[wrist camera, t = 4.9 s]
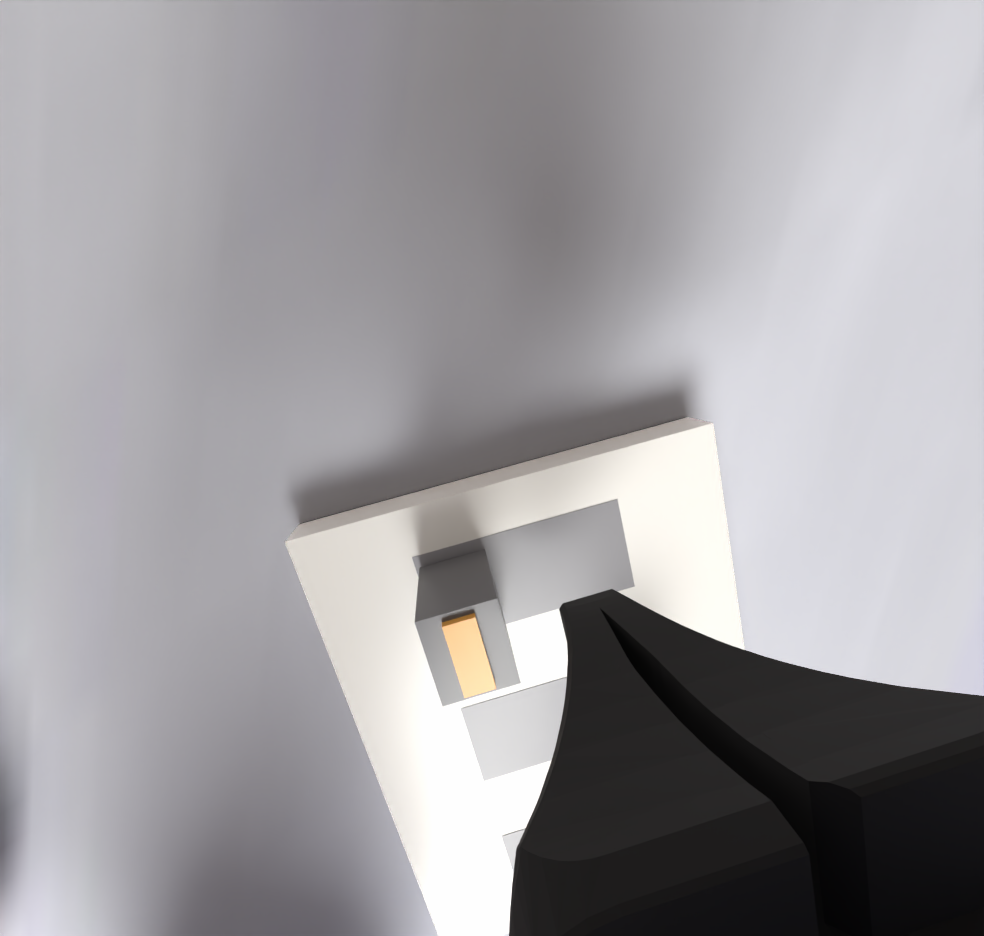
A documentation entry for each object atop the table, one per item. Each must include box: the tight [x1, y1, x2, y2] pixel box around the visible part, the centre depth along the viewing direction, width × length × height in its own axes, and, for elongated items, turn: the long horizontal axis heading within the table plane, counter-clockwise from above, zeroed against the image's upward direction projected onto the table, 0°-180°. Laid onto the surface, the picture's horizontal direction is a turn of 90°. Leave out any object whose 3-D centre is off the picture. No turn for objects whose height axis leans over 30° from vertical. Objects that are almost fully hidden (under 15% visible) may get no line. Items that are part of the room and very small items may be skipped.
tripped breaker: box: [415, 549, 521, 706], centre depth 13 cm, size 2×2×3 cm
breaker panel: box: [285, 417, 745, 936], centre depth 15 cm, size 13×17×5 cm
